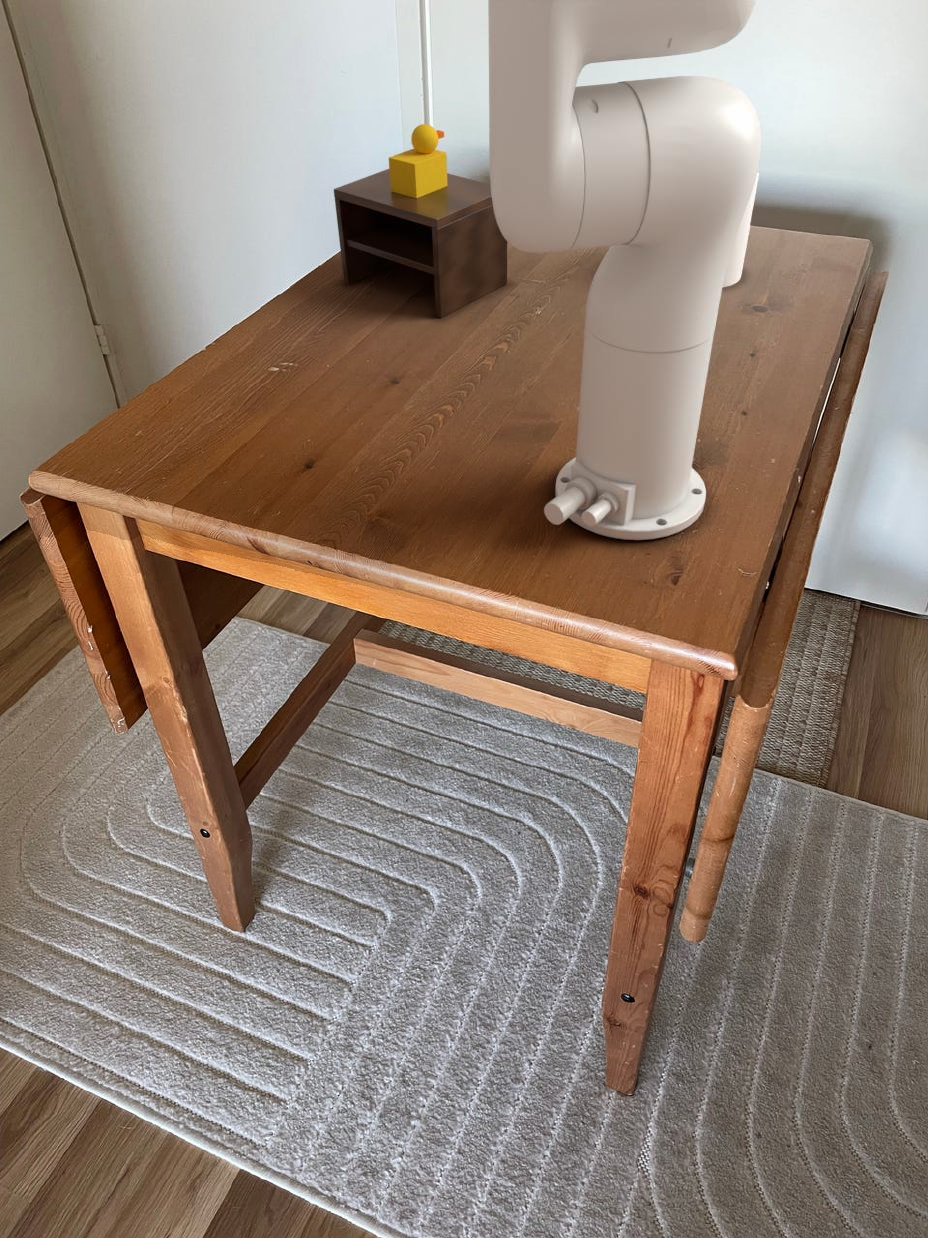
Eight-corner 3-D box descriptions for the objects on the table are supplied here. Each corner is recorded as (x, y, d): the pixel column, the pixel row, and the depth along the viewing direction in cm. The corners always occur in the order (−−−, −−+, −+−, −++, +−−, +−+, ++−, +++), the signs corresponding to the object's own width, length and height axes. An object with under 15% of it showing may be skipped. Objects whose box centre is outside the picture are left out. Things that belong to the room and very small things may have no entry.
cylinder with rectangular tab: (651, 275, 113) (663, 170, 105) (691, 253, 118) (706, 151, 110) (715, 295, 109) (733, 187, 101) (755, 271, 113) (775, 166, 105)
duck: (416, 198, 103) (413, 135, 99) (390, 191, 105) (386, 129, 101) (455, 182, 107) (454, 121, 103) (430, 175, 109) (427, 115, 105)
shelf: (441, 318, 106) (436, 219, 98) (343, 282, 114) (333, 188, 106) (507, 283, 112) (507, 188, 105) (411, 252, 120) (405, 161, 113)
